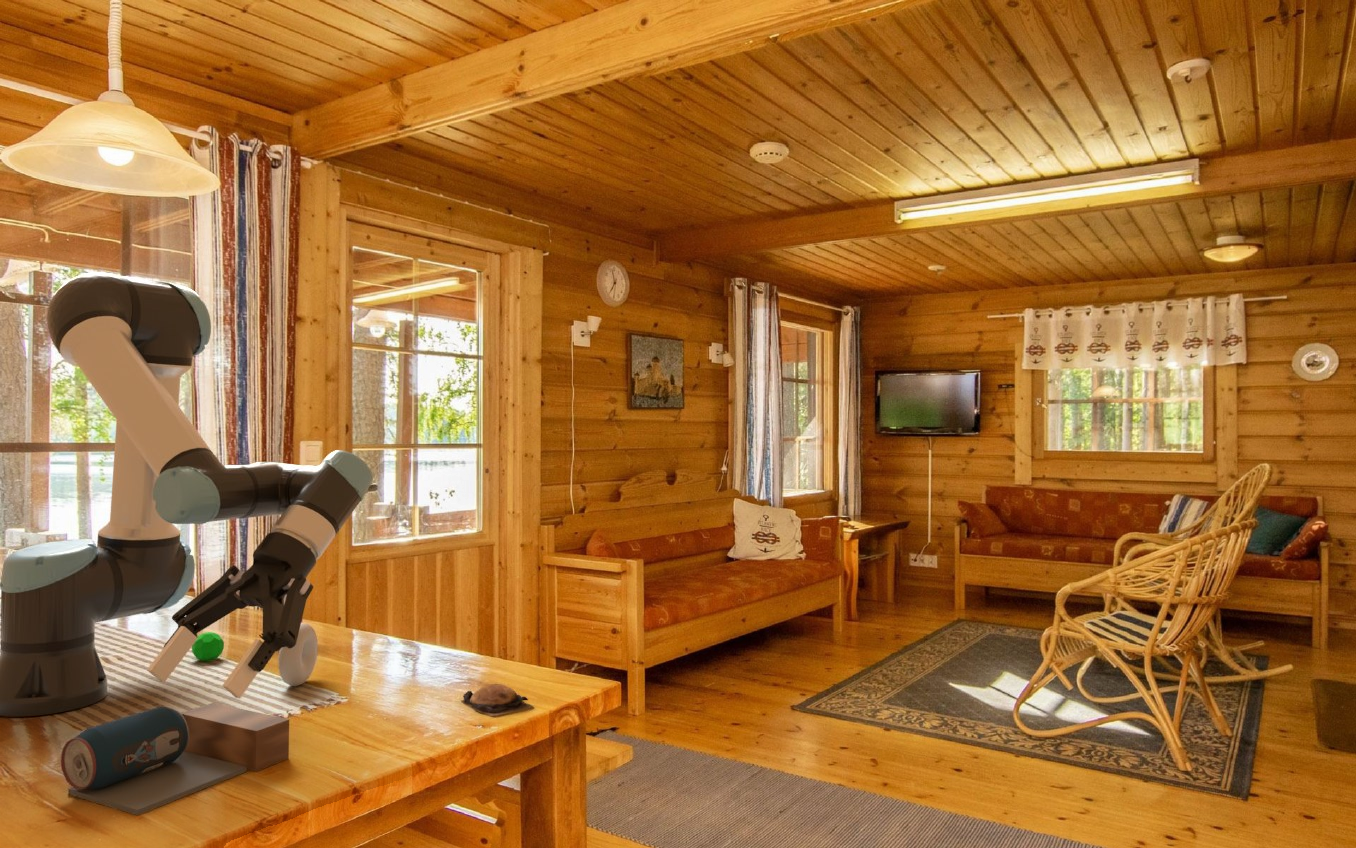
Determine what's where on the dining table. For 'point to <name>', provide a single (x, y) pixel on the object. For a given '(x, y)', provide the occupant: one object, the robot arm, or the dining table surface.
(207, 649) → the polyhedron
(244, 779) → the dining table surface
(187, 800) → the dining table surface
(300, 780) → the dining table surface
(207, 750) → the walnut block
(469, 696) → the brown domed piece
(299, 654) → the donut
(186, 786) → the charcoal mat
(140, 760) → the soda can
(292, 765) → the dining table surface
